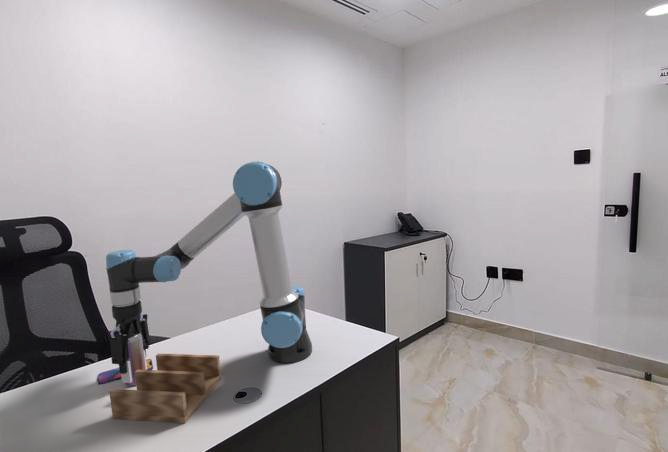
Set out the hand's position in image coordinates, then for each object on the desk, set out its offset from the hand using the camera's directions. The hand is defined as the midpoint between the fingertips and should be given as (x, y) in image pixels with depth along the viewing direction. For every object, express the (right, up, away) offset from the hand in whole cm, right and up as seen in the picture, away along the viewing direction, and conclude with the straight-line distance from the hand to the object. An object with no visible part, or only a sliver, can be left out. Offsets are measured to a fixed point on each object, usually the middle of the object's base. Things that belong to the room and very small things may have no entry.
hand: (135, 375), depth 106 cm
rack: (+15, -2, -8) cm, 17 cm away
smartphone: (-6, -2, +6) cm, 9 cm away
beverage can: (0, -2, 0) cm, 2 cm away
